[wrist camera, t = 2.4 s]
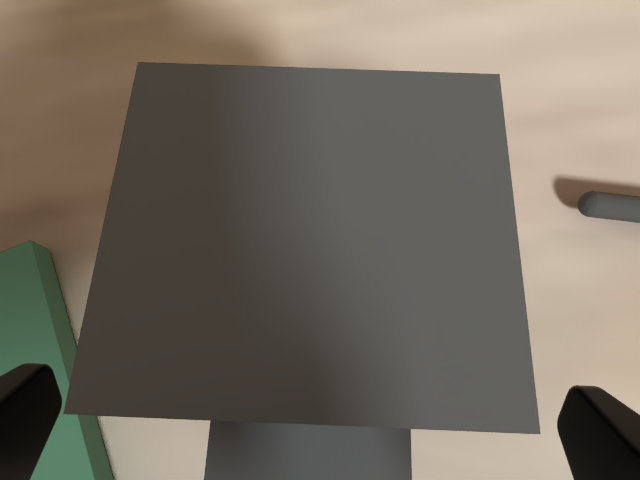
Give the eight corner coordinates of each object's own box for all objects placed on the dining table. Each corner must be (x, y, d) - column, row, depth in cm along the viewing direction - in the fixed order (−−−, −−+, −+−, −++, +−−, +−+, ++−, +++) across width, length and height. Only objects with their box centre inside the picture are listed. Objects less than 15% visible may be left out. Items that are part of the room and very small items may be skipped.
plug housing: (374, 452, 15) (569, 685, 3) (249, 447, 15) (11, 658, 3) (374, 271, 17) (494, 22, 5) (264, 267, 17) (149, 11, 6)
